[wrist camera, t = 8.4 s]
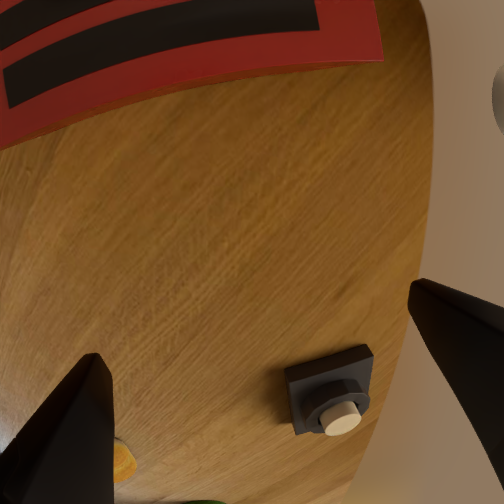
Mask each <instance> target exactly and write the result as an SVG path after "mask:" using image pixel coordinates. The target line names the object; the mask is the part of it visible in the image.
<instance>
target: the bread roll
mask: <svg viewBox="0 0 504 504" xmlns="http://www.w3.org/2000/svg"><path fill="white" fill-rule="evenodd" d="M136 466H137V464H136V460H135V458H134V457H133V455H132V454H131V453H130V451H129V449H128V447H127V446H126V445H125V444H124V443H123V442H122V441H120V440H118V439H116V438H114V483H118V482H121V481H124V480H125V479H128V478H129V477H131V476H132V475H133V474H134V473H135V471H136Z"/></svg>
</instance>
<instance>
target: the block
mask: <svg viewBox="0 0 504 504" xmlns="http://www.w3.org/2000/svg"><path fill="white" fill-rule="evenodd" d="M373 359H374V355H373V354H372V352H371V351H370V349H369V347H368V346H367V344H365V345H362V346H359V347H356V348H353V349H350V350H347V351H344V352H341V353H338V354H335V355H332V356H328V357H325V358H322V359H319V360H315V361H312V362H308V363H305V364H301V365H298V366H294V367H291V368H287V369H284V372H285V379H286V385H287V392H288V399H289V406H290V412H291V419H292V425H293V428H294V431H295V434H296V435H299V434H303V433H306V432H310V431H311V432H313V433H325V431H324V429H323V426H322V424H321V421H320V418H319V417H320V415H321V414H322V413H323V412H324V411H325V410H327V409H329V408H330V407H332V406H333V405H335V404H338V403H341V402H344V401H352V402H354V404H355V406H356V408H357V410H358V412H359V414H360V416H362V415H363V414H364V413H365V412H366V410H367V409H368V408H369V403H370V397H369V395H368V391H369V385H370V379H371V372H372V366H373Z"/></svg>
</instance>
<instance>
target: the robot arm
mask: <svg viewBox="0 0 504 504" xmlns="http://www.w3.org/2000/svg"><path fill="white" fill-rule="evenodd" d="M408 310H409V313H410V315H411V316H412V318H413V320H414V322H415V324H416V326H417V328H418V330H419V332H420V334H421V336H422V338H423V340H424V342H425V344H426V346H427V348H428V350H429V352H430V354H431V355H432V357H433V359H434V360H435V362H436V363H437V365H438V367H439V368H440V370H441V371H442V373H443V375H444V376H445V378H446V380H447V382H448V383H449V385H450V387H451V388H452V390H453V392H454V394H455V395H456V397H457V399H458V401H459V402H460V404H461V406H462V408H463V410H464V411H465V413H466V415H467V417H468V419H469V420H470V422H471V424H472V426H473V428H474V430H475V432H476V434H477V436H478V437H479V439H480V441H481V443H482V445H483V447H484V449H485V451H486V453H487V455H488V458H489V460H490V462H491V464H492V466H493V468H494V470H495V472H496V475H497V477H498V479H499V481H500V483H501V485H502V488H503V490H504V308H503V307H500V306H498V305H495V304H493V303H490V302H488V301H484V300H482V299H480V298H477V297H474V296H472V295H469V294H466V293H464V292H461V291H458V290H455V289H453V288H450V287H447V286H444V285H442V284H439V283H436V282H434V281H431V280H428V279H425V278H421V279H418V280H415V281H413V282H412V283H411V285H410V291H409V297H408ZM114 430H115V424H114V405H113V380H112V375H111V372H110V370H109V369H108V367H107V366H106V364H105V362H104V361H103V359H102V357H101V356H100V354H98V353H89V354H85V355H84V356H83V357H82V358H81V359H80V360H79V361H78V362H77V363H76V365H75V366H74V367H73V368H72V369H71V370H70V371H69V373H68V374H67V375H66V376H65V377H64V378H63V380H62V381H61V382H60V383H59V384H58V385H57V387H56V388H55V389H54V390H53V391H52V392H51V394H50V395H49V396H48V397H47V398H46V400H45V401H44V402H43V403H42V404H41V406H40V407H39V408H38V409H37V410H36V412H35V413H34V414H33V415H32V416H31V418H30V419H29V420H28V421H27V423H26V424H25V425H24V426H23V428H22V429H21V430H20V431H19V433H18V434H17V435H16V438H14V439H13V440H12V441H11V443H10V444H9V445H8V446H7V448H6V449H5V450H4V451H3V453H2V454H1V455H0V504H114Z"/></svg>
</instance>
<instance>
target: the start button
mask: <svg viewBox="0 0 504 504" xmlns="http://www.w3.org/2000/svg"><path fill="white" fill-rule="evenodd" d="M319 418H320V421H321V424H322V426H323V429H324V431H325V433H326V434H327V435H329V436H336V435H340V434H343V433H346V432H348V431H350V430H351V429H353V428H354V427H355V426H357V425H358V423H359V422H360V420H361V416H360V414H359V412H358V410H357V408H356V406H355V404H354V402H352V401H344V402H341V403H338V404H335V405H333V406H332V407H330V408H329V409H327V410H325V411H324V412H323V413H322V414H321V415H320V417H319Z"/></svg>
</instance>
